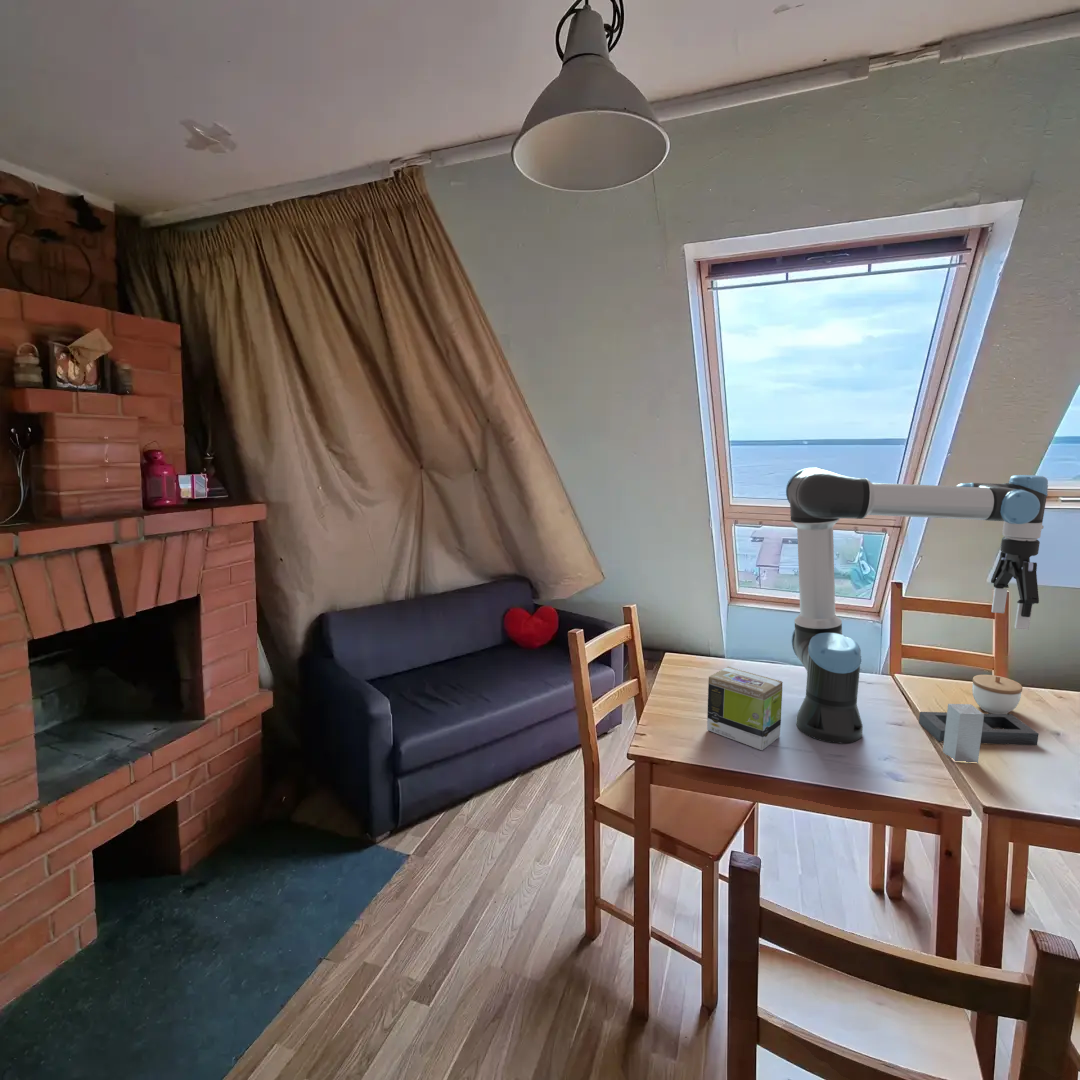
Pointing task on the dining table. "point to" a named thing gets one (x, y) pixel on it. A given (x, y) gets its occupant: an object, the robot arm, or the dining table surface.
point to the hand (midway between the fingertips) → (1009, 620)
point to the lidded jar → (996, 693)
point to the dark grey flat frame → (985, 728)
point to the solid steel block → (963, 732)
